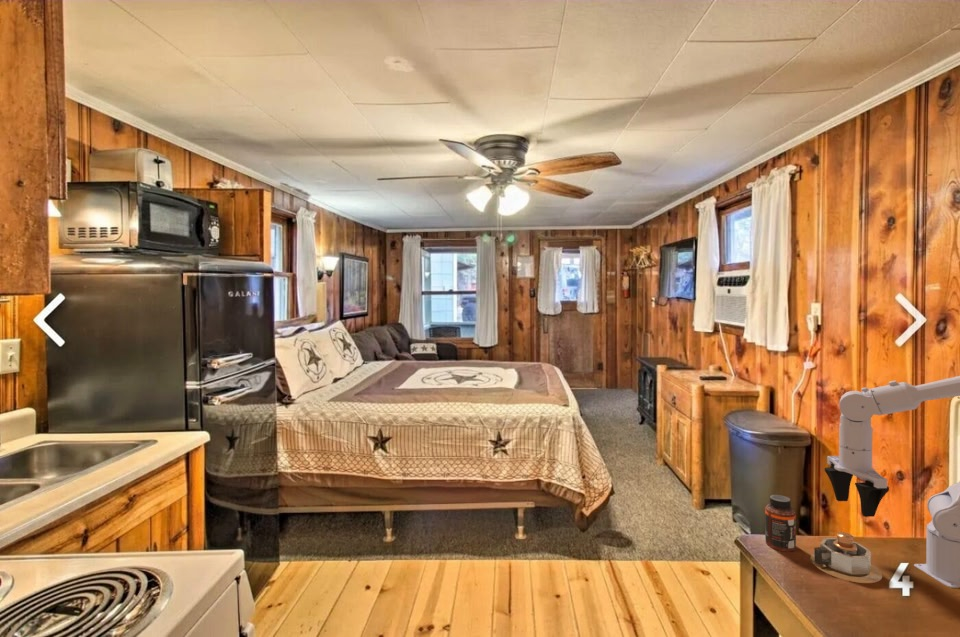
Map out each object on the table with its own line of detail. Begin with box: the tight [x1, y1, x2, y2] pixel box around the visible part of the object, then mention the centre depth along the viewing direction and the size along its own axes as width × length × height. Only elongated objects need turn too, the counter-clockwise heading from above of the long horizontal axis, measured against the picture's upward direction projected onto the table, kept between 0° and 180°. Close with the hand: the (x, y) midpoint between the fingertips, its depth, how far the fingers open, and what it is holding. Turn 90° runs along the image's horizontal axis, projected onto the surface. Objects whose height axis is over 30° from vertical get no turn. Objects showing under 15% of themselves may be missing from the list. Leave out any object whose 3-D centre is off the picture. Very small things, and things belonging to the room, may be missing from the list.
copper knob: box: [833, 531, 857, 556], centre depth 101 cm, size 6×6×6 cm
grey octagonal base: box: [809, 537, 883, 584], centre depth 101 cm, size 12×12×4 cm
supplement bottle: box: [764, 494, 797, 553], centre depth 110 cm, size 6×6×11 cm
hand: (854, 508), depth 105 cm, fingers open, 7 cm apart
